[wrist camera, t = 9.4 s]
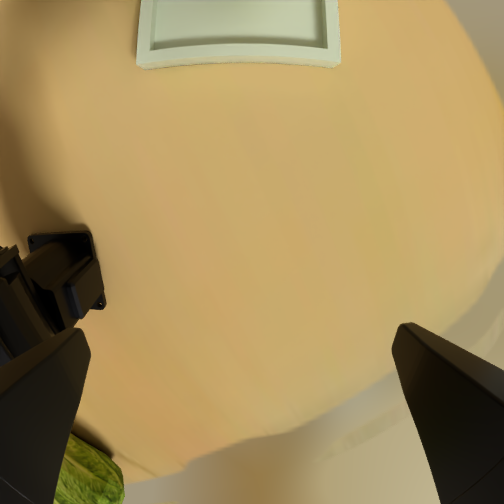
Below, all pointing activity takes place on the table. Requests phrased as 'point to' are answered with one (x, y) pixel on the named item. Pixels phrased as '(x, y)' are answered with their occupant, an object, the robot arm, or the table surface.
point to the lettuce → (88, 476)
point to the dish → (238, 32)
